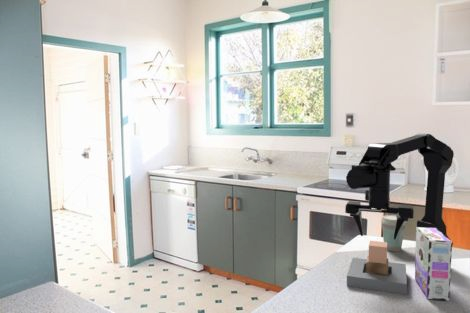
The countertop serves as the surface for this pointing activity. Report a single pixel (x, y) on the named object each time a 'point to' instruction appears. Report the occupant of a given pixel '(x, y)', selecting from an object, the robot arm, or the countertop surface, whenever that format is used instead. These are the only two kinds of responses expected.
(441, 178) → the robot arm
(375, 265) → the walnut block
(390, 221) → the coffee cup
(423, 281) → the candy box
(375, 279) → the grey slotted square board
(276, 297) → the countertop surface
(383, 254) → the peach cube
